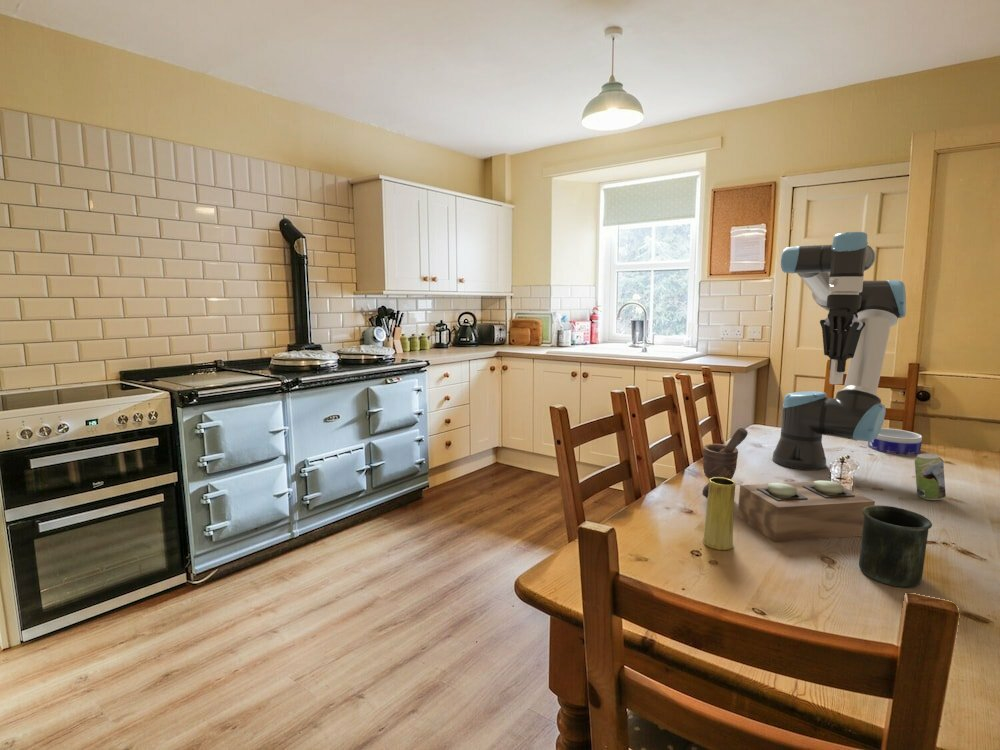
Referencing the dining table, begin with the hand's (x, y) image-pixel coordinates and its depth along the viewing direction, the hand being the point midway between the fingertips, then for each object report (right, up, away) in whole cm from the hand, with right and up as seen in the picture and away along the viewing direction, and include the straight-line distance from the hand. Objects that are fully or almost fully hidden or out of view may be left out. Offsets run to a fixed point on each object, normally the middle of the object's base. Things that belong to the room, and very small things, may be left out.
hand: (835, 383), depth 146 cm
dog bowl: (+50, -24, +49) cm, 74 cm away
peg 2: (-12, -31, -16) cm, 37 cm away
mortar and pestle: (-29, -30, +2) cm, 42 cm away
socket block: (-18, -33, -17) cm, 41 cm away
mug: (-12, -36, -38) cm, 54 cm away
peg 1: (-24, -31, -18) cm, 43 cm away
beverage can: (+26, -31, +2) cm, 40 cm away
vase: (-42, -35, -26) cm, 60 cm away
